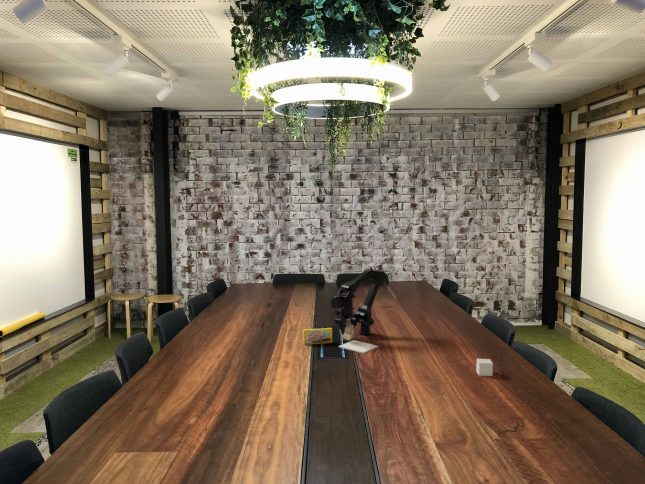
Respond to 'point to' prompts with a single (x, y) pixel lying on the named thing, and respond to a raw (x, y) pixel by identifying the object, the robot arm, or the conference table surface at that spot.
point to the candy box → (317, 336)
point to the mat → (358, 346)
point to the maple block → (348, 332)
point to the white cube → (484, 367)
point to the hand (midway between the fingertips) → (347, 333)
